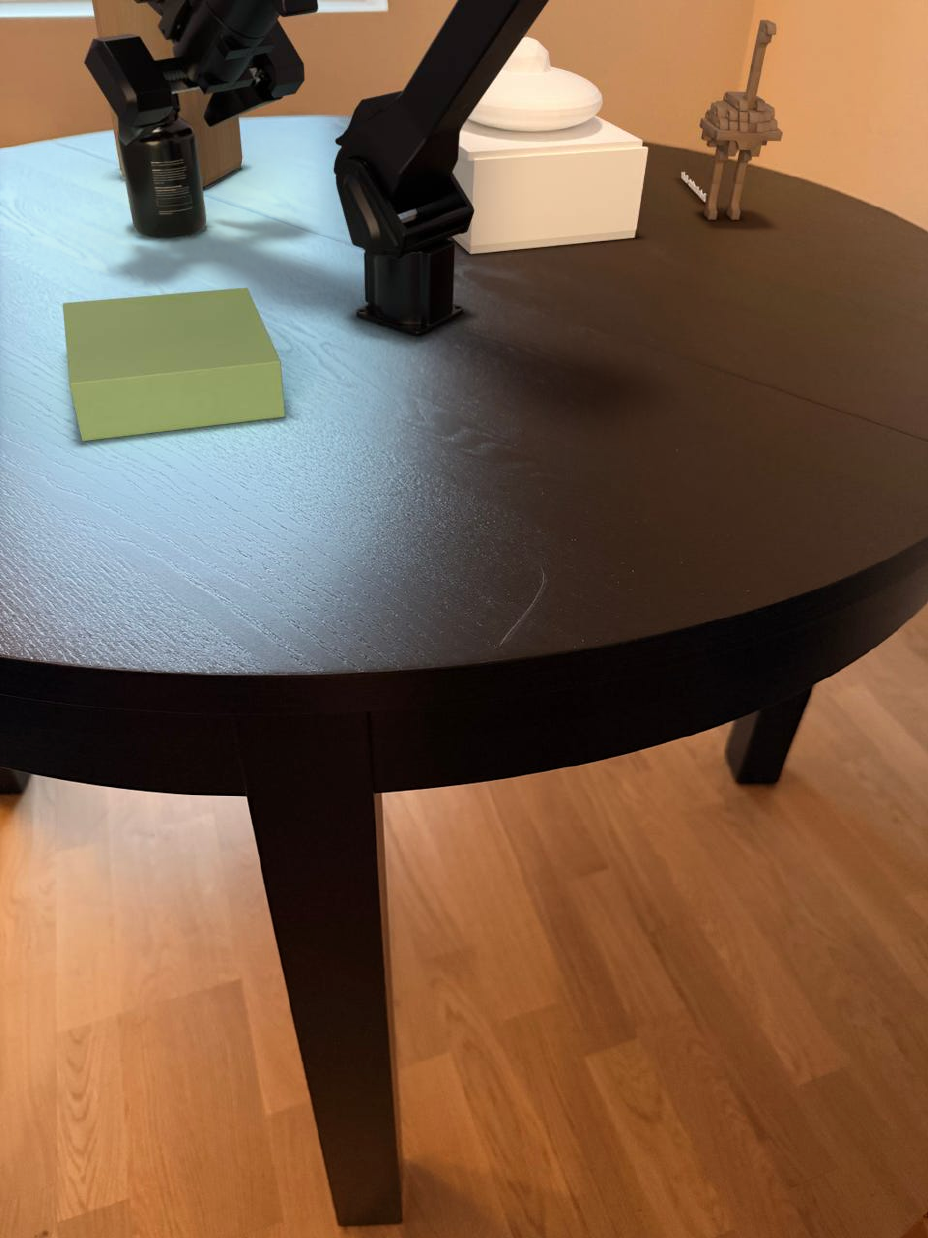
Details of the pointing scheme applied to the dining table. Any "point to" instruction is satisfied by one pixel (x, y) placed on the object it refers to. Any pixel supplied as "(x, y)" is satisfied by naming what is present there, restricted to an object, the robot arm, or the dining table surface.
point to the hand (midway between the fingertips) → (166, 130)
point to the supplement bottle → (165, 179)
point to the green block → (170, 363)
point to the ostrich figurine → (738, 130)
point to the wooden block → (213, 143)
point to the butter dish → (546, 161)
